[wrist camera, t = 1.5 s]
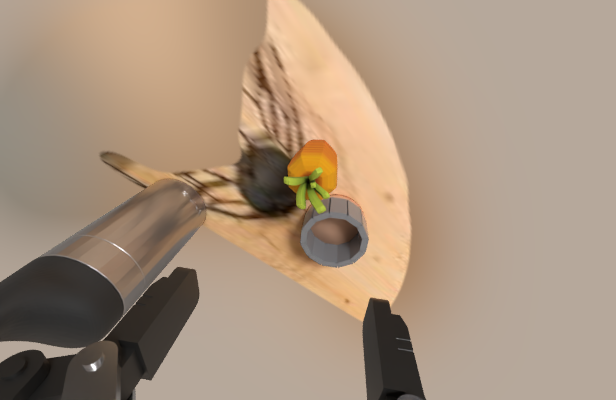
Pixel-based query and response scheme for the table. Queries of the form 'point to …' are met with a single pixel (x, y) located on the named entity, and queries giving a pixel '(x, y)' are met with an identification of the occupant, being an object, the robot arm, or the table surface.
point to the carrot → (313, 174)
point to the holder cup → (335, 232)
